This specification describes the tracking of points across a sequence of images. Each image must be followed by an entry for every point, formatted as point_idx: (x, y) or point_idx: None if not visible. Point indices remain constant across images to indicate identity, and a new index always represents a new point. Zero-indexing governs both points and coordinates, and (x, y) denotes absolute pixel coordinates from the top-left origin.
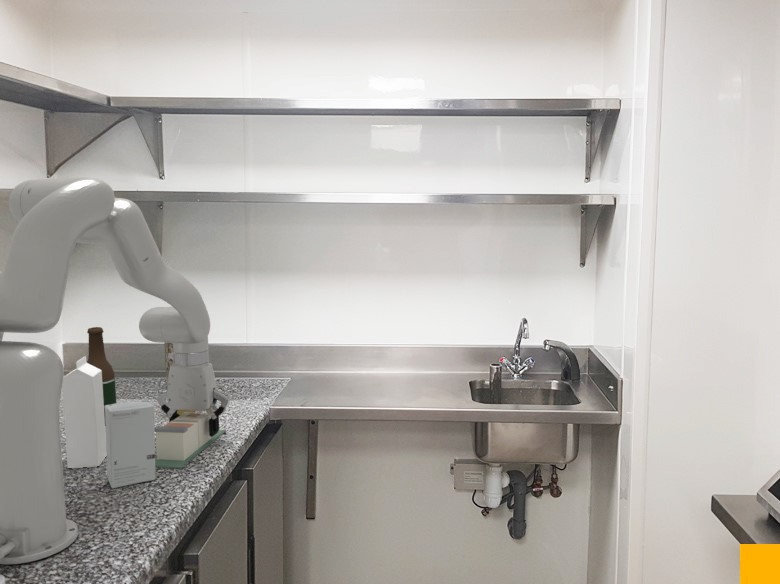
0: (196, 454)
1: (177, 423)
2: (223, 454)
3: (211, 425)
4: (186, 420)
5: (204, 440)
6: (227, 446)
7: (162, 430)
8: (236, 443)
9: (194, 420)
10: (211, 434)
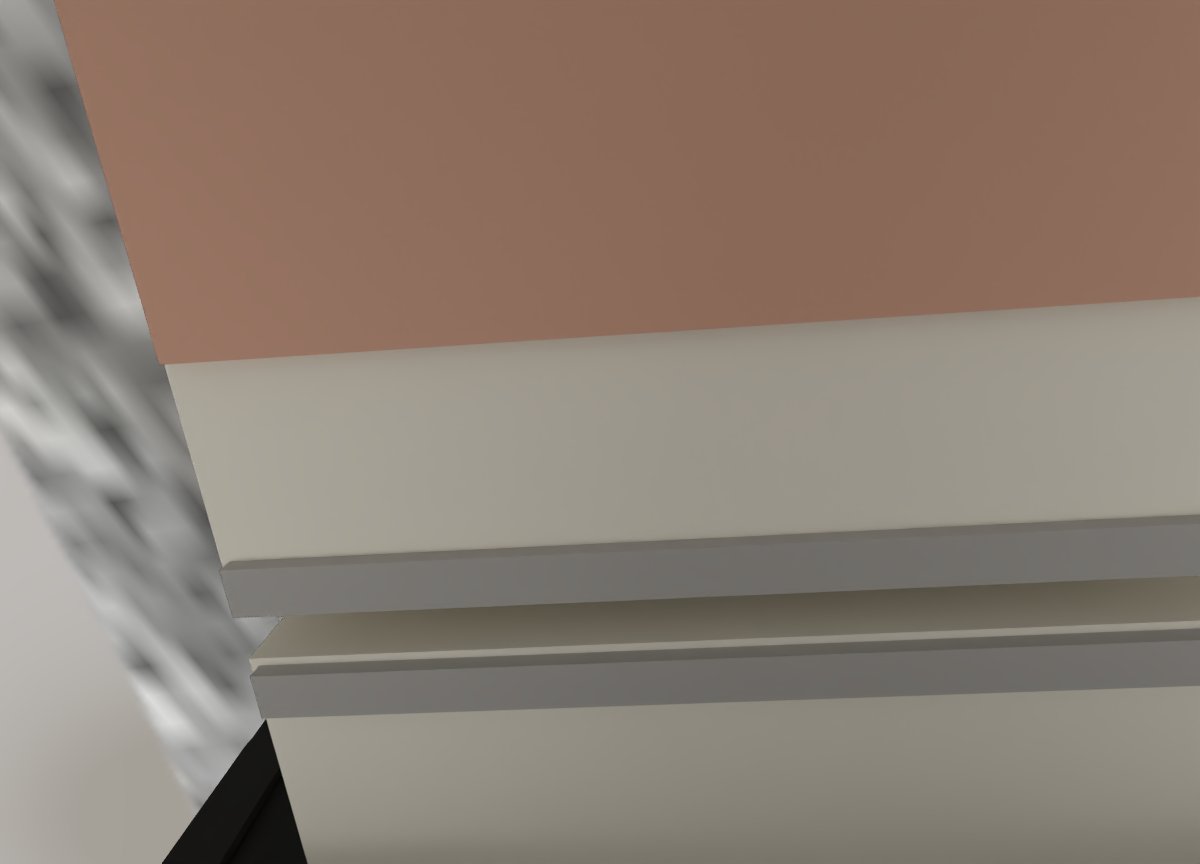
0: None
1: (937, 239)
2: (25, 270)
3: (227, 775)
4: (724, 668)
5: None
6: (182, 553)
7: None
8: (144, 657)
9: (417, 702)
10: None
